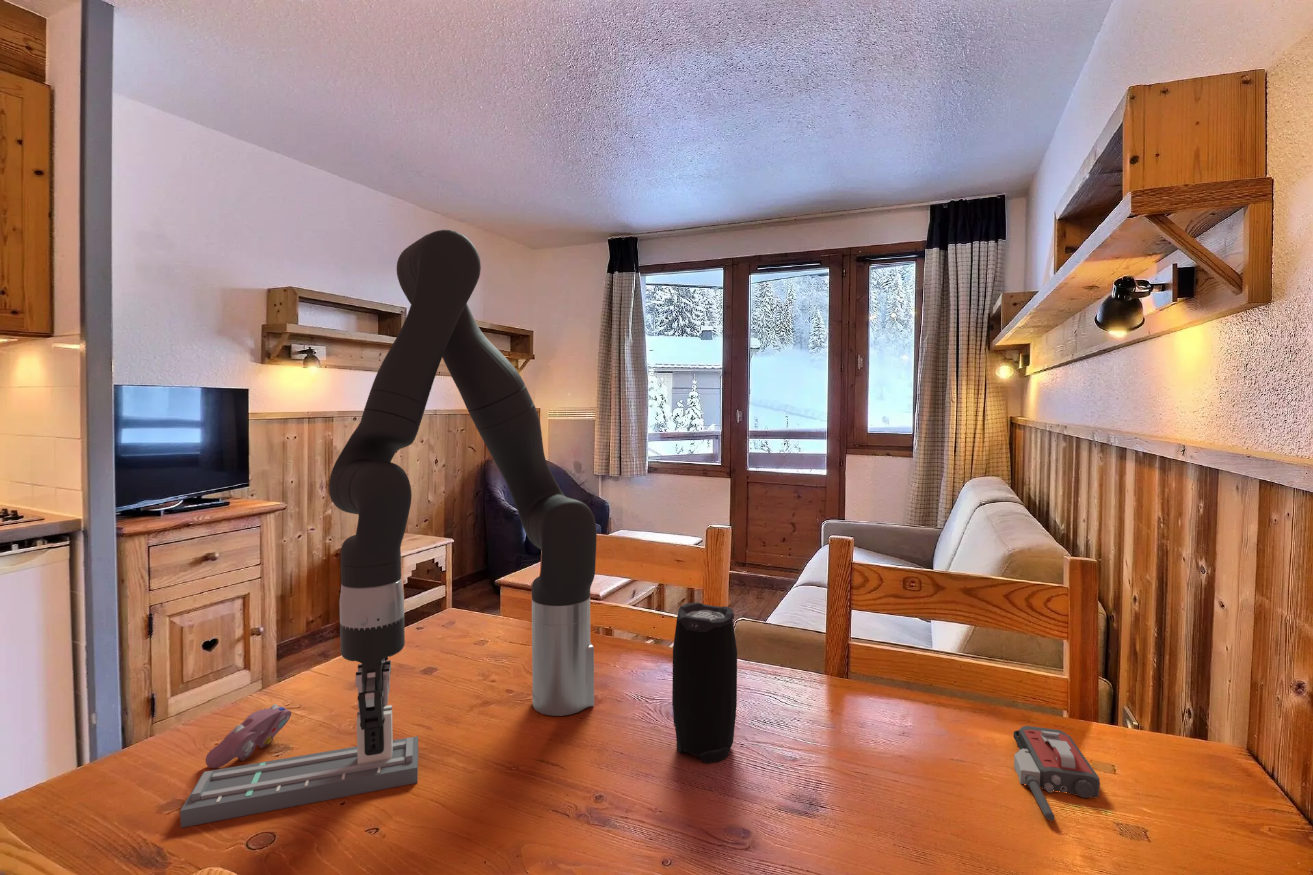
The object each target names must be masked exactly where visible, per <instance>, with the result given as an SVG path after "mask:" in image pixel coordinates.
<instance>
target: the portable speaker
mask: <svg viewBox="0 0 1313 875" xmlns="http://www.w3.org/2000/svg"><path fill="white" fill-rule="evenodd" d="M734 619H735V614H734V610H733V609H732V608H731V607H729V606H725V605H724V606H718V605H709V604H705V603H702V602H689V603H685V604H683V605H681V606H679V608H678V610H677V615H676V624H675V631H674V638H673V647H672V687H671V688H672V690H671V691H672V696H671V698H672V701H671V704H672V711H673V712H672V713H673V714H672V715H673V716H672V717H673V727H674V728H675V729H674V730H675V736H676V738H675V739H676V750H677V751H678V753H679V754H681V753H685V752H686V753H688V754H690V755H693V756H695V757H698V758H699V759H700V760H701V761H702V762H704V763H705V764H712V763H718V762H721V761H723V760H724V759H726V758H728V757H729V754H730V751H731V748H732V747H733V744H734V738H735V728H736V719H737V705H738V697H737V696H738V691H737V690H738V649H737V642H736V640H737V639H736V634H735V627H734V621H733V620H734Z"/></svg>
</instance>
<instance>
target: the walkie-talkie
mask: <svg viewBox="0 0 1313 875" xmlns="http://www.w3.org/2000/svg"><path fill="white" fill-rule="evenodd" d="M1013 739H1014V740H1015V743H1016V744H1017V747H1018V748H1019V749H1018V751H1017V752H1016V753H1014V757H1013V758H1014V762H1013V767H1014V770H1015V773H1016V774H1018V775H1017V777H1018V781H1019V783H1020V785H1021V784H1026V785H1028V786H1027V787H1028V788H1029V789H1030V790H1031V793H1032V794H1033V796H1034V799H1035V801H1036V802H1037V805H1038V806H1039V808H1040V810H1041V811H1042V813H1043V815H1044V817H1045V818H1046V819H1048V821H1050V822H1051V821H1054V820H1055V814H1054V812H1053V810H1052V808H1051V806H1050V805H1049V803H1048V801H1047V798H1046V797H1045V795H1044V793H1043V791H1042V790H1043V789H1045V790H1044V791H1047V792H1048V793H1053V792H1055V791H1058V792H1057V793H1061V792H1067V793H1066V794H1068V793H1071V794H1070V795H1074V794H1077V795H1076V796H1079V797H1081V798H1083V799H1088V798H1089V799H1090V798H1094V797H1098V798H1099V797H1100V788H1101V787H1100V786H1101V782H1100V776H1099V775H1098V774H1097V773H1096V771H1095V770H1094V768H1093V767H1092V766H1091V764H1090V762H1089V761H1088V759H1086V757H1085V756H1084V754H1083V753H1082V751H1081V750H1080V749H1079V747H1078V745H1077V744H1076V743H1075V741H1074V739H1073V738H1072V737H1071V736H1070V735H1069V734H1067V733H1065V732H1064V731H1062V730H1060V729H1056V728H1055V729H1054V728H1046V727H1039V726H1030V725H1024V726H1022V727H1020V728H1019V729H1018V730H1014V731H1013ZM1026 785H1025V786H1026ZM1040 787H1041V788H1040ZM1042 788H1043V789H1042ZM1053 790H1054V791H1053ZM1059 791H1060V792H1059Z"/></svg>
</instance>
